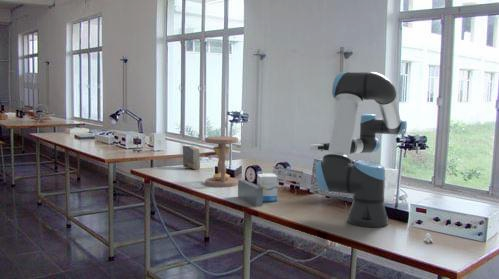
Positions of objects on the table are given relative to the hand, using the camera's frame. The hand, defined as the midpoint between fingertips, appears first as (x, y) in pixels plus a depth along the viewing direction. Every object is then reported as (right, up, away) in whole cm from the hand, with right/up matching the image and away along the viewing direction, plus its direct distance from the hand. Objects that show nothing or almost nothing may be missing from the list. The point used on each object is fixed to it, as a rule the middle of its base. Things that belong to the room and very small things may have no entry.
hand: (311, 147), depth 221 cm
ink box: (-21, -24, -3) cm, 32 cm away
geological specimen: (-66, -15, +78) cm, 104 cm away
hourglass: (-44, -20, +31) cm, 58 cm away
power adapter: (+31, -32, -63) cm, 77 cm away
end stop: (-29, -24, -7) cm, 38 cm away
